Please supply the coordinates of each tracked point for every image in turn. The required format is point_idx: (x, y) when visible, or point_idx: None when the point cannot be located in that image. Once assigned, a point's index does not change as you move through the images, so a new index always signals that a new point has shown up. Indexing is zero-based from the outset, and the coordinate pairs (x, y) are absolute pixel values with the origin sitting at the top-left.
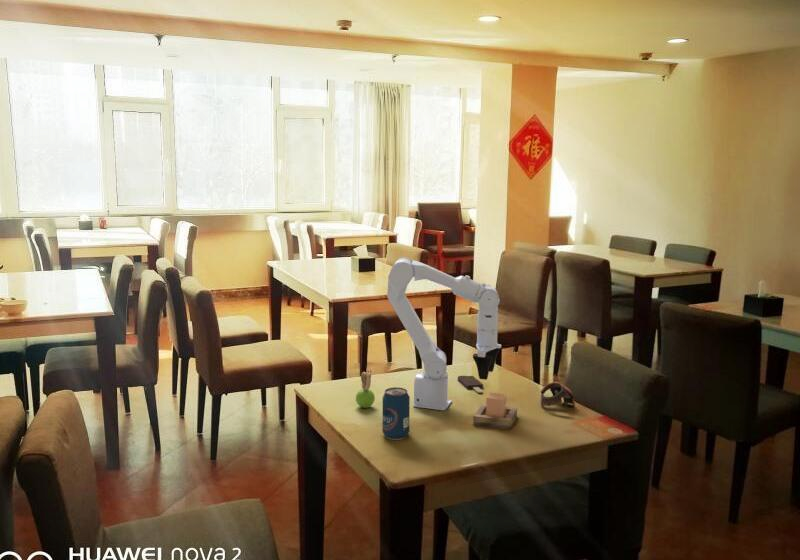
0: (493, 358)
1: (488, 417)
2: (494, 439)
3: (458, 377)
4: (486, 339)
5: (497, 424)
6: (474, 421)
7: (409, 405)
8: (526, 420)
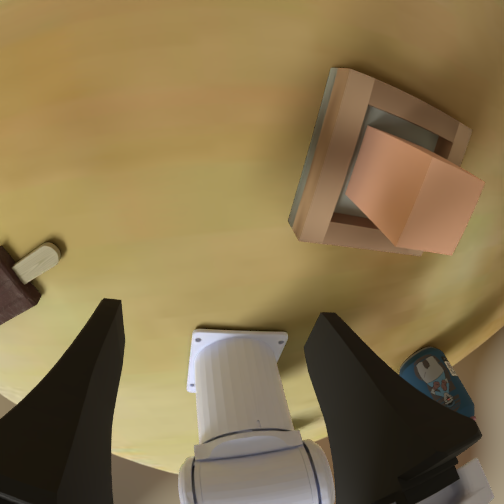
0: (92, 404)
1: None
2: (488, 178)
3: None
4: None
5: None
6: None
7: (456, 394)
8: (368, 35)
